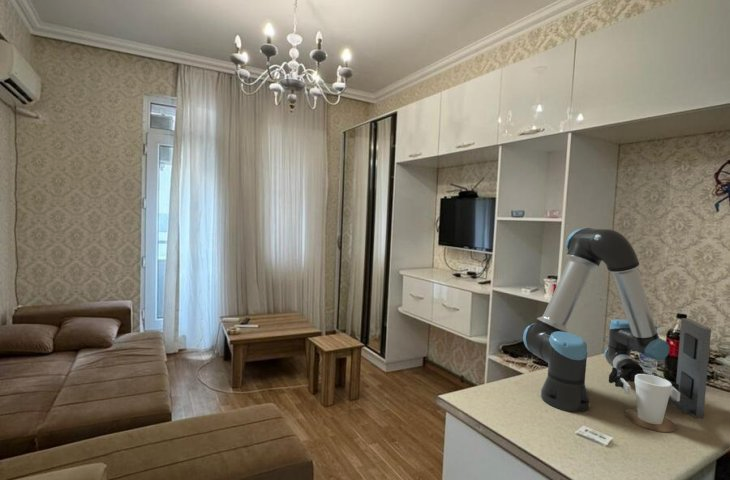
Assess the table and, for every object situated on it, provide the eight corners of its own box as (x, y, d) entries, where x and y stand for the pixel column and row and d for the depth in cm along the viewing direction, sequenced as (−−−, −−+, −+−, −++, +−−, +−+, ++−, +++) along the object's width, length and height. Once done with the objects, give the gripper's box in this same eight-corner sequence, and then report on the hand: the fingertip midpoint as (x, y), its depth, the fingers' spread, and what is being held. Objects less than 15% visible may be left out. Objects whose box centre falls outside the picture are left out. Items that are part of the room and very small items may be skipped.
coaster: (634, 427, 117) (634, 425, 117) (619, 407, 130) (619, 406, 130) (684, 435, 113) (684, 434, 113) (664, 414, 126) (664, 412, 126)
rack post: (685, 415, 125) (692, 327, 123) (665, 396, 139) (671, 317, 137) (703, 418, 124) (711, 329, 122) (681, 399, 137) (688, 318, 135)
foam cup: (631, 408, 128) (633, 371, 127) (665, 416, 123) (668, 378, 122) (633, 421, 120) (636, 381, 119) (670, 430, 115) (674, 389, 114)
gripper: (666, 383, 137) (699, 411, 117) (589, 373, 144) (607, 398, 124) (668, 363, 137) (701, 388, 116) (591, 354, 144) (609, 376, 124)
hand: (653, 393), depth 120 cm, fingers open, 13 cm apart
